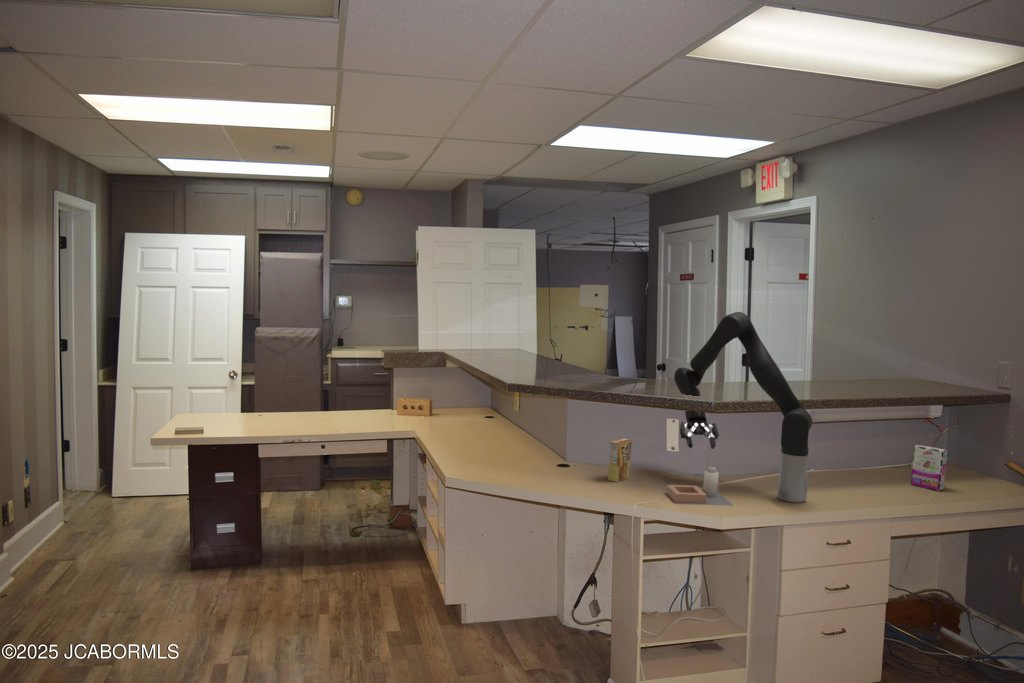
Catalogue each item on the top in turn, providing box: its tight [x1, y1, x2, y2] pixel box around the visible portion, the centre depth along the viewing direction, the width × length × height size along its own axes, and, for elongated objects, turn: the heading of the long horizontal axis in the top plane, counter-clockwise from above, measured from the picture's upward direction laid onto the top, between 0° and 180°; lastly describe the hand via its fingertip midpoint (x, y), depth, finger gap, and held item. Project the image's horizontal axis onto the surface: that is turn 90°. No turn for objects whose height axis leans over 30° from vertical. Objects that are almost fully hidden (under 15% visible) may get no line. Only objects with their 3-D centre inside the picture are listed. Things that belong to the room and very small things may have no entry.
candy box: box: [607, 438, 633, 483], centre depth 289 cm, size 9×4×15 cm, turn 137°
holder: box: [662, 484, 734, 506], centre depth 267 cm, size 21×16×4 cm
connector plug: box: [702, 466, 720, 497], centre depth 271 cm, size 5×5×10 cm
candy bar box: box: [910, 444, 948, 492], centre depth 300 cm, size 11×5×16 cm, turn 40°
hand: (702, 447), depth 281 cm, fingers open, 8 cm apart
